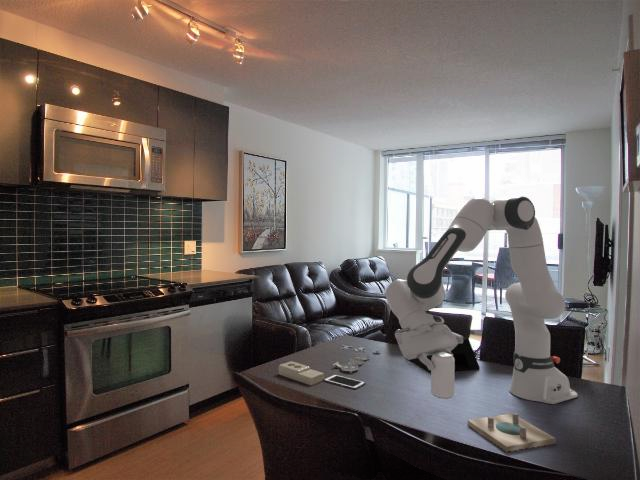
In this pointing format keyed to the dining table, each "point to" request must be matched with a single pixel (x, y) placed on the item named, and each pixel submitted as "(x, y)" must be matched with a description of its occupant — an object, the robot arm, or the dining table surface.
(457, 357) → the device stand
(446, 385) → the can
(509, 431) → the pin plate
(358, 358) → the drone parts
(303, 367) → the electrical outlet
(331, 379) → the cell phone
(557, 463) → the dining table surface
